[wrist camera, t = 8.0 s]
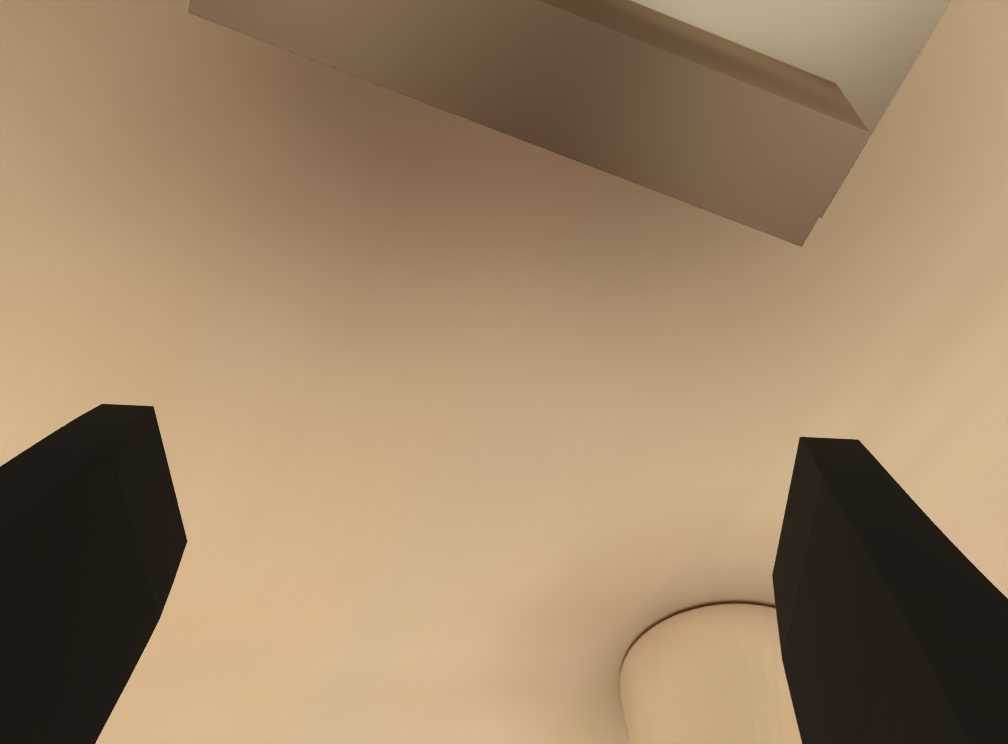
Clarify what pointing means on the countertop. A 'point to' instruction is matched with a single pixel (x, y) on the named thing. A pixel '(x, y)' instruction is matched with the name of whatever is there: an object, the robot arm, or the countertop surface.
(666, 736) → the beer glass
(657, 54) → the lid
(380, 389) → the countertop surface
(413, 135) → the countertop surface
